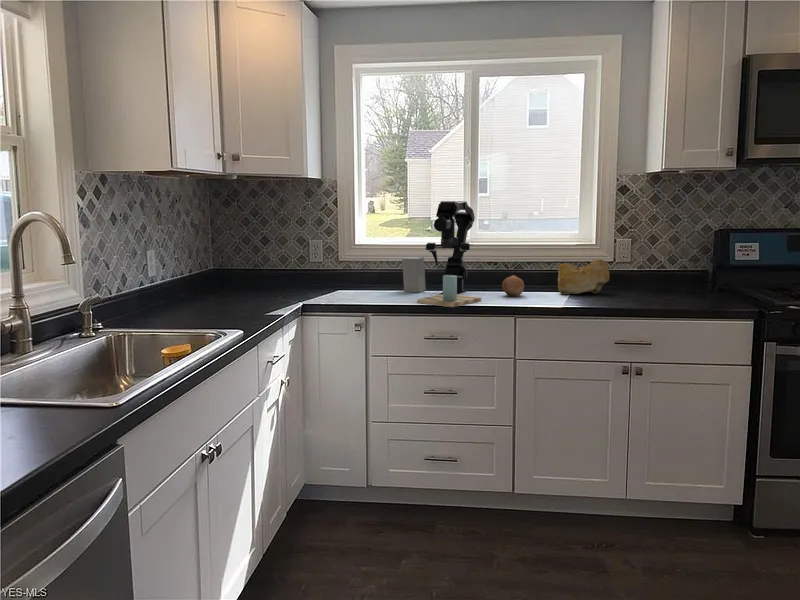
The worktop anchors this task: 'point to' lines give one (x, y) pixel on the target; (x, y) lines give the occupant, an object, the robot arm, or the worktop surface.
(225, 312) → the worktop surface
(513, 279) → the onion
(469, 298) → the oak board
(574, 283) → the rough brown rock
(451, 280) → the ceramic jar
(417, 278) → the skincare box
